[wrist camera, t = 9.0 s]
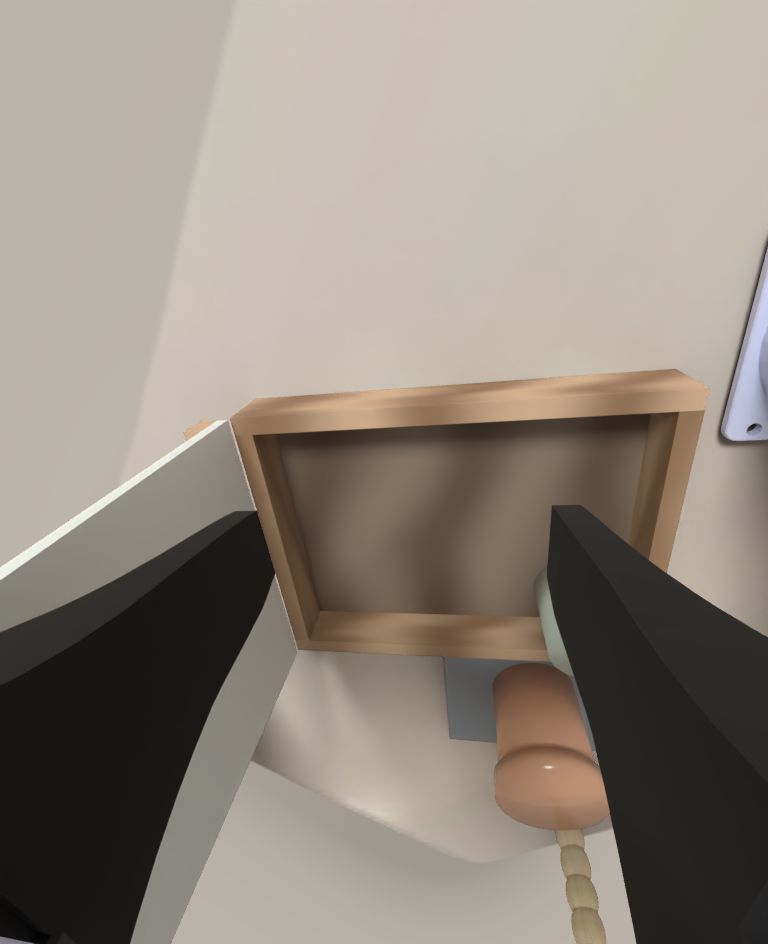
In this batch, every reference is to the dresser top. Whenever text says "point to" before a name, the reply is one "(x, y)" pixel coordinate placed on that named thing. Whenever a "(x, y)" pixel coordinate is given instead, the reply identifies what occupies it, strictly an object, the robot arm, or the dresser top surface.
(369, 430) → the wooden tray
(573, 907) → the toy lamp
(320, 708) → the dresser top surface
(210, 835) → the lid
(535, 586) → the pale green egg
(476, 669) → the mat
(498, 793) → the terracotta pot
